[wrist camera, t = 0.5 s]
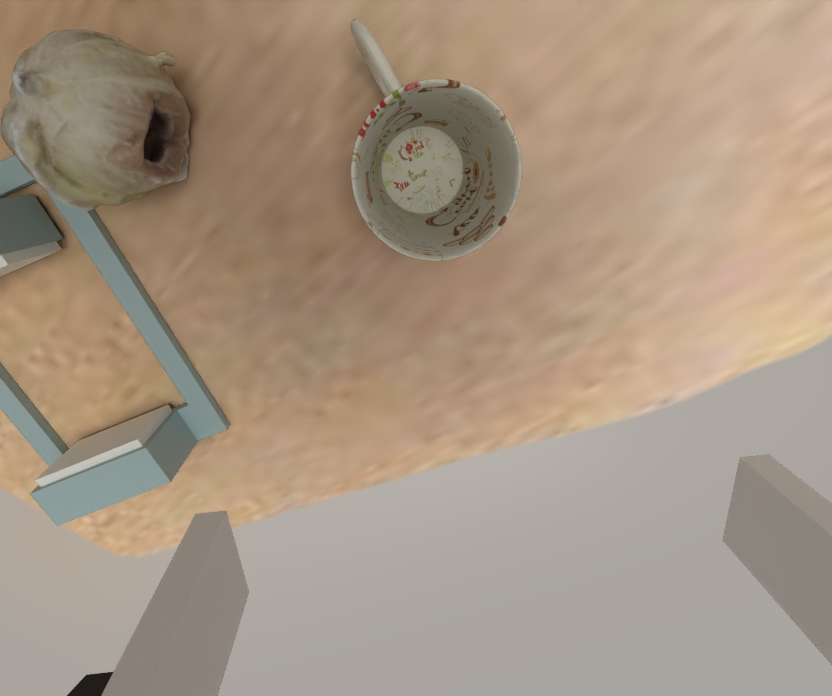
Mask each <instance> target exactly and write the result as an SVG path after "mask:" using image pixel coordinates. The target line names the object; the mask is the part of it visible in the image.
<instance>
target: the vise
mask: <svg viewBox="0 0 832 696" xmlns="http://www.w3.org/2000/svg"><path fill="white" fill-rule="evenodd" d="M35 182H37V181H36V180H35V179H34V178H33V177H32V176H30V175H29V174H28V173H27V172H26V170H25V169H24V167H23V166H22V164H21V163H20V161H19V160H18V158H17V157H16V156H15V155H14V156H12V157H10V158H8V159H6V160H4V161H1V162H0V198H2V197H4V196H6V195H8V194H11V193H13V192H15V191H17V190H19V189H21V188H24V187H26V186H28V185H30V184H32V183H35ZM47 193H48V192H47ZM48 194H49V196H50V197H51V199H52V200H53V202H54V203H55V205H56V207H57V208H58V210H59V211H60V213H61V214H62V216H63V217H64V219H65V220H66V222H67V223H68V225H69V226H70V228H71V229H72V231H73V232H74V234H75V235H76V237H77V238H78V240H79V241H80V243H81V244H82V246H83V247H84V249H85V250H86V252H87V253H88V255H89V256H90V258H91V259H92V261H93V262H94V264H95V265H96V267H97V268H98V270H99V271H100V273H101V274H102V276H103V277H104V279H105V280H106V282H107V283H108V285H109V286H110V288H111V289H112V291H113V293H114V294H115V296H116V297H117V299H118V300H119V302H120V303H121V305H122V306H123V308H124V309H125V311H126V312H127V314H128V315H129V317H130V318H131V320H132V321H133V323H134V324H135V326H136V327H137V329H138V330H139V332H140V333H141V335H142V336H143V338H144V339H145V341H146V342H147V344H148V345H149V347H150V348H151V350H152V351H153V353H154V354H155V356H156V357H157V359H158V360H159V362H160V363H161V365H162V366H163V368H164V369H165V371H166V372H167V374H168V375H169V377H170V379H171V380H172V382H173V383H174V385H175V386H176V388H177V389H178V391H179V392H180V394H181V395H182V397H183V398H184V400H185V401H186V403H185V404H183V405H180V406H178V407H175V408H173V409H171V408H170V406H169V405H165V406H163V407H161V408H158V409H156V410H153V411H151V412H148V413H146V414H143V415H141V416H138V417H136V418H133V419H131V420H128V421H126V422H123V423H121V424H119V425H116V426H114V427H111V428H109V429H106V430H104V431H101V432H99V433H96V434H94V435H91V436H89V437H86V438H84V439H81V440H79V441H77V442H76V443H75V444H74V445H73V446H72V447H71V448H70V449H68V447H67V446H66V445H65V444H64V442H63V441H62V440H61V439H60V437H59V436H58V435H57V434H56V432H55V431H54V430H53V429H52V427H51V426H50V425H49V424H48V422H47V421H46V420H45V419H44V417H43V416H42V415H41V414H40V412H39V411H38V410H37V409H36V407H35V406H34V405H33V404H32V402H31V401H30V400H29V399H28V397H27V396H26V395H25V394H24V392H23V391H22V390H21V389H20V387H19V386H18V385H17V384H16V383H15V381H14V380H13V379H12V378H11V376H10V375H9V374H8V373H7V371H6V370H5V369H4V368H3V366H2V365H1V364H0V409H1V410H2V411H3V412H4V413H5V415H6V416H7V417H8V418H9V419H10V421H11V422H12V423H13V424H14V425H15V427H16V428H17V429H18V430H19V431H20V432H21V434H22V435H23V436H24V437H25V438H26V440H27V441H28V442H29V443H30V444H31V446H32V447H33V448H34V449H35V450H36V452H37V453H38V454H39V455H40V456H41V458H42V459H43V460H44V461H45V462H46V464H47V465H48V466H49V468H48V469H47V470H46V471H45V472H44V473H42V474H41V475H40V476H39V477H38V478H37V479H36V480H35V481H36V482H37V484H38V485H39V486H38V487H36V488H35V489H34V490H33V491H32V492H31V493H30V496H31V497H32V498H33V499H34V500H35V501H36V502H37V503H38V505H39V506H40V507H41V508H42V509H43V510H44V511H45V513H46V514H47V515H48V516H49V517H50V518H51V519H52V521H53V522H54V523H55V524H56V525H57V526H59V525H62V524H64V523H67V522H69V521H72V520H75V519H77V518H80V517H82V516H85V515H87V514H90V513H93V512H95V511H98V510H100V509H103V508H105V507H108V506H110V505H113V504H116V503H118V502H121V501H123V500H126V499H128V498H131V497H134V496H136V495H139V494H141V493H144V492H146V491H149V490H152V489H154V488H157V487H159V486H162V485H164V484H167V483H170V482H171V481H172V479H173V478H174V476H175V475H176V473H177V472H178V470H179V469H180V467H181V466H182V464H183V463H184V461H185V460H186V458H187V457H188V455H189V454H190V452H191V451H192V449H193V448H194V446H195V445H196V443H197V441H199V440H202V439H204V438H207V437H209V436H212V435H215V434H217V433H220V432H222V431H225V430H227V429H228V427H229V426H230V423H229V421H228V420H227V418H226V417H225V415H224V414H223V412H222V410H221V409H220V407H219V406H218V404H217V403H216V401H215V399H214V398H213V396H212V395H211V393H210V392H209V390H208V388H207V387H206V385H205V384H204V382H203V381H202V379H201V377H200V376H199V374H198V373H197V371H196V370H195V368H194V366H193V365H192V363H191V362H190V360H189V359H188V357H187V355H186V354H185V352H184V351H183V349H182V348H181V346H180V344H179V343H178V341H177V340H176V338H175V337H174V335H173V333H172V332H171V330H170V329H169V327H168V325H167V324H166V322H165V321H164V319H163V318H162V316H161V314H160V313H159V311H158V310H157V308H156V307H155V305H154V303H153V302H152V300H151V299H150V297H149V296H148V294H147V292H146V291H145V289H144V288H143V286H142V285H141V283H140V281H139V280H138V278H137V277H136V275H135V274H134V272H133V270H132V269H131V267H130V266H129V264H128V263H127V261H126V259H125V258H124V256H123V255H122V253H121V252H120V250H119V248H118V247H117V245H116V244H115V242H114V241H113V239H112V237H111V236H110V234H109V233H108V231H107V230H106V228H105V226H104V225H103V223H102V222H101V220H100V219H99V217H98V215H97V214H96V212H95V211H94V209H92V210H89V211H88V210H81V209H78V208H75V207H72V206H69V205H67V204H65V203H63V202H61V201H60V200H58V199H57V198H56V197H54V196H53V195H51V194H50V193H48Z"/></svg>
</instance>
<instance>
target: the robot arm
mask: <svg viewBox="0 0 832 696" xmlns="http://www.w3.org/2000/svg"><path fill="white" fill-rule="evenodd" d="M723 541H724V542H725V544H726V545H727V546H728V547H729V548H730V549H731V550H732V552H733V553H734V554H735V555H736V556H737V557H738V558H739V560H740V561H741V562H742V563H743V564H744V565H745V566H746V567H747V569H748V570H749V571H750V572H751V573H752V574H753V576H754V577H755V578H756V579H757V580H758V581H759V582H760V583H761V585H762V586H763V587H764V588H765V589H766V590H767V591H768V593H769V594H770V595H771V596H772V597H773V598H774V599H775V601H776V602H777V603H778V604H779V605H780V606H781V607H782V609H783V610H784V611H785V612H786V613H787V614H788V615H789V616H790V618H791V619H792V620H793V621H794V622H795V623H796V625H797V626H798V627H799V628H800V629H801V630H802V631H803V632H804V634H805V635H806V636H807V637H808V638H809V639H810V641H811V642H812V643H813V644H814V645H815V646H816V647H817V649H818V650H819V651H820V652H821V653H822V654H823V655H824V657H825V658H826V659H827V660H828V661H829V662H830V663H831V665H832V503H830V502H829V501H828V500H827V499H825V498H824V497H823V496H822V495H820V494H819V493H818V492H816V491H815V490H814V489H812V488H811V487H810V486H809V485H807V484H806V483H805V482H804V481H802V480H801V479H799V478H798V477H797V476H796V475H795V474H793V473H792V472H791V471H790V470H788V469H787V468H786V467H784V466H783V465H782V464H780V463H779V462H778V461H777V460H775V459H774V458H773V457H772V456H770V455H769V454H767V455H757V456H748V457H740V459H739V464H738V469H737V473H736V478H735V484H734V488H733V493H732V497H731V502H730V507H729V512H728V517H727V521H726V526H725V531H724V536H723ZM248 594H249V590H248V586H247V583H246V579H245V575H244V572H243V569H242V565H241V561H240V558H239V554H238V550H237V547H236V543H235V540H234V536H233V533H232V529H231V526H230V522H229V518H228V515H227V511H219V512H209V513H200V514H195V516H194V517H193V519H192V521H191V523H190V525H189V527H188V529H187V531H186V533H185V535H184V537H183V539H182V541H181V543H180V545H179V546H178V548H177V550H176V552H175V554H174V556H173V558H172V560H171V562H170V564H169V566H168V568H167V570H166V572H165V574H164V576H163V578H162V579H161V581H160V583H159V585H158V587H157V589H156V591H155V593H154V595H153V597H152V599H151V601H150V602H149V604H148V606H147V608H146V611H145V612H144V614H143V616H142V618H141V620H140V622H139V624H138V626H137V628H136V630H135V632H134V633H133V635H132V637H131V639H130V641H129V643H128V645H127V647H126V649H125V651H124V653H123V655H122V657H121V659H120V660H119V662H118V664H117V666H116V669H115V670H114V672H108V673H100V674H90V675H86V676H85V677H84V678H83V679H82V680H81V681H80V682H79V684H77V686H76V687H75V688H74V689H73V690H72V691H71V692H70V693H69V694H68V695H67V696H218V693H219V689H220V686H221V683H222V680H223V676H224V673H225V669H226V666H227V663H228V660H229V656H230V653H231V650H232V647H233V643H234V640H235V636H236V633H237V630H238V627H239V623H240V620H241V617H242V614H243V610H244V607H245V604H246V601H247V597H248Z"/></svg>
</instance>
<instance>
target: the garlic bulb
mask: <svg viewBox="0 0 832 696" xmlns="http://www.w3.org/2000/svg"><path fill="white" fill-rule="evenodd" d="M175 64H176V60H175V58H174V57H173V56H172V55H170V54H169V53H167V52H165V51H162V52H159V53H158V54H157V55H156V56H150V55H146V54H144V53H142V52H140V51H139V50H136V49H134V48H133V47H132V46H130V45H128V44H126V43H125V42H123V41H122V40H120V39H119V38H117V37H114V36H108V35H104V34H101V33H98V32H93V31H89V30H62V31H55V32H52V33H50V34H49V35H47V36H46V37H45V38H44V39H42V40H41V41H40V42H39V43H38V44H37V45H35V46H34V47H31V48H29V49H27V50H25V51H24V52H23V53H22V54H21V56H20V57H19V59H18V61H17V63H16V65H15V67H14V72H13V74H12V76H13V81H12V85H11V89H10V98H11V101H10V102H9V103H8V104H7V105H6V106H5V108H4V109H3V116H2V120H1V128H0V129H1V135H2V137H3V139H4V141H5V143H6V144H7V146H8V147H9V149H10V150H11V151H12V152H13V153H14V154H15V156H16V157H17V158H18V160H19V161H20V163H21V164H22V166H23V167H24V169H25V170H26V172H27V173H28V174H29V175H30V176H32V177H33V178H34V179H35V180H36V181H37V183H38V184H39V185H40V186H41V187H42V188H43V189H44V190H46V191H47V192H48V193H50V194H51V195H53V196H54V197H56V198H57V199H58V200H60V201H61V202H63V203H65V204H67V205H69V206H72V207H75V208H78V209H81V210H88V211H89V210H92V209H94V208H96V207H97V206H99V205H110V206H117V205H120V204H124V203H125V202H128V201H130V200H132V199H139V198H141V197H143V196H144V195H145V194H146V193H147V192H148V191H150V190H153V189H155V188H158V187H163V186H165V185H167V184H169V183H172V182H173V183H176V182H179V181H182V180H184V179H187V167H188V164H189V155H188V153H187V149H188V147H189V145H190V142H189V137H188V136H189V135H188V129H189V124H190V113H189V110H188V108H187V105H186V102H185V99H184V97H183V95H182V93H181V92H180V91H179V90H178V89H177V88H176V87H175V86H174V83H173V80H172V79H171V78H170V77H169V76H168V75H167V73H166V72H165V70H164V68H163V66H164V65H167V66H175Z"/></svg>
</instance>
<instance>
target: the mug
mask: <svg viewBox="0 0 832 696" xmlns="http://www.w3.org/2000/svg"><path fill="white" fill-rule="evenodd" d="M351 32H352V34H353V37H354V40H355V42H356V44H357V46H358V48H359V50H360V52H361V54H362V56H363V58H364V60H365V61H366V63H367V65H368V67H369V68H370V70H371V72H372V74H373V77H374V79H375V81H376V83H377V85H378V86H379V88H380V89H381V91H382V92H383V94H384V96H385V98H384V99H383V100H382V101H381V102H380V103H379V104H378V105H377V106H376V107H375V108H374V109H373V110H372V112H371V113H370V114H369V116H368V117H367V119H366V120H365V121H364V123H363V125H362V127H361V129H360V131H359V133H358V136H357V138H356V141H355V145H354V148H353V153H352V159H351V184H352V190H353V194H354V198H355V201H356V204H357V207H358V209H359V211H360V214H361V216H362V217H363V219H364V221H365V222H366V224H367V225H368V227H369V228H370V229H371V231H372V232H373V233H374V234H375V235H376V236H377V237H378V238H379V239H380V240H381V241H382V242H383V243H385V244H386V245H387V246H389V247H390V248H392V249H393V250H395V251H397V252H399V253H401V254H403V255H406V256H408V257H411V258H415V259H419V260H426V261H443V260H450V259H454V258H458V257H461V256H464V255H466V254H469V253H471V252H473V251H475V250H476V249H478V248H480V247H481V246H483V245H484V244H485V243H486V242H488V241H489V240H490V239H491V238H492V237H493V236H494V235H495V234H496V233H497V232H498V231H499V230H500V229H501V227H502V226H503V225H504V223H505V222H506V220H507V219H508V217H509V215H510V213H511V211H512V209H513V207H514V205H515V202H516V199H517V196H518V192H519V188H520V183H521V155H520V149H519V145H518V141H517V138H516V135H515V133H514V130H513V128H512V126H511V124H510V122H509V121H508V119H507V117H506V116H505V115H504V113H503V112H502V110H501V109H500V108H499V107H498V106H497V105H496V104H495V103H494V102H493V101H492V100H491V99H490V98H489V97H488V96H486V95H485V94H484V93H482V92H481V91H479V90H477V89H475V88H474V87H471V86H469V85H467V84H464V83H461V82H458V81H453V80H447V79H428V80H421V81H417V82H414V83H411V84H408V85H406V86H403V87H402V86H401V84H400V82H399V80H398V78H397V76H396V75H395V73H394V71H393V69H392V67H391V65H390V63H389V62H388V60H387V58H386V56H385V54H384V53H383V51H382V49H381V47H380V46H379V44H378V42H377V41H376V39H375V38H374V36H373V35H372V33H371V32H370V30H369V29H368V28H367V26H366V25H365V24H364V23H363V22H362V21H361V20H359V19H357V18H356V19H353V20H352V22H351Z"/></svg>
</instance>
